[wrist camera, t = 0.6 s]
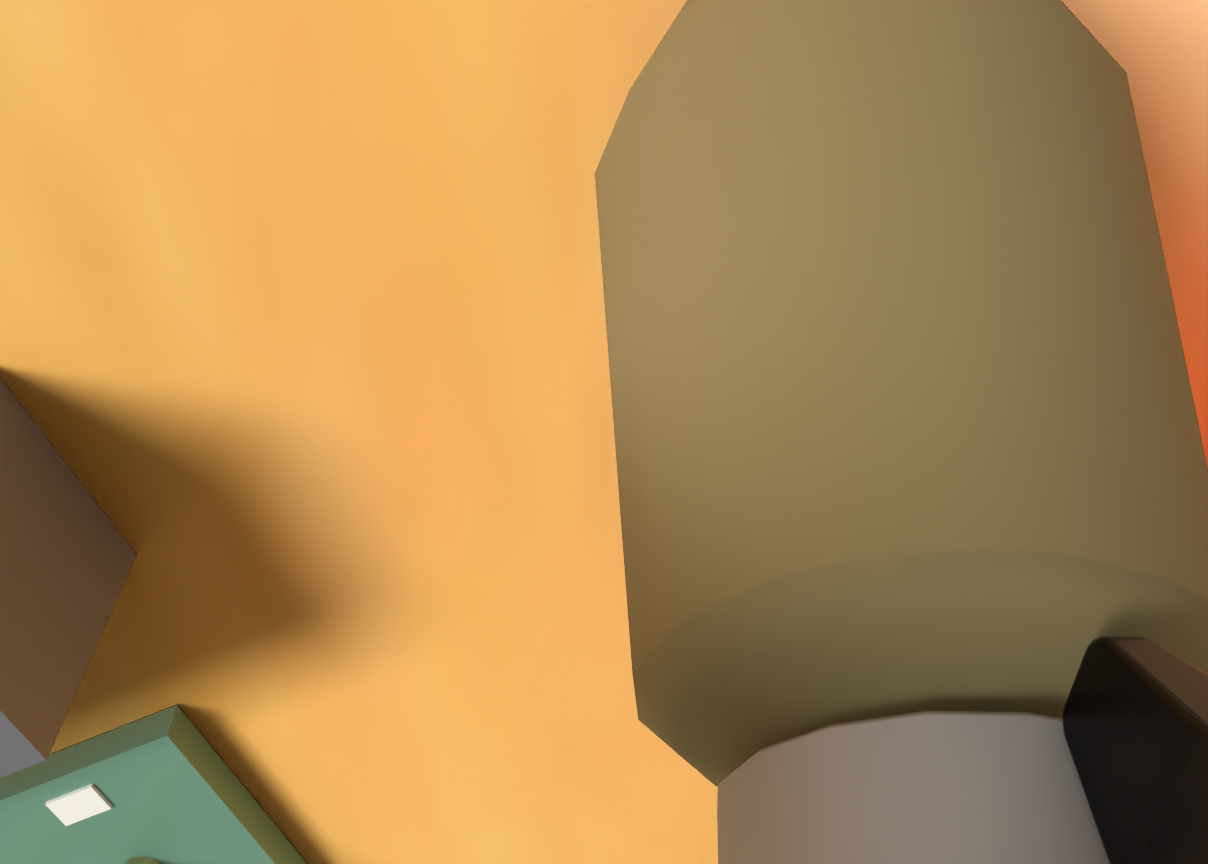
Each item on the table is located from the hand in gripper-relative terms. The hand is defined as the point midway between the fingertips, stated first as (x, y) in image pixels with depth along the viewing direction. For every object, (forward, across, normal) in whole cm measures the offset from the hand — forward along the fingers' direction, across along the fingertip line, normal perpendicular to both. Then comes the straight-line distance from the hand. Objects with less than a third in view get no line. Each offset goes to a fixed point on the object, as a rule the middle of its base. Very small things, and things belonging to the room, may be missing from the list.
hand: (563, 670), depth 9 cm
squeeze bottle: (+13, -5, -3) cm, 14 cm away
